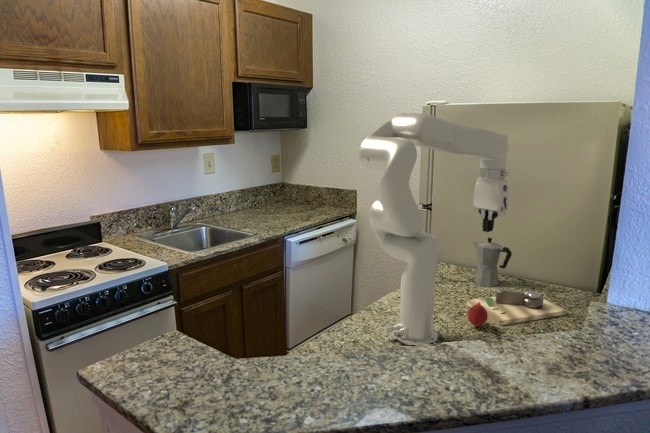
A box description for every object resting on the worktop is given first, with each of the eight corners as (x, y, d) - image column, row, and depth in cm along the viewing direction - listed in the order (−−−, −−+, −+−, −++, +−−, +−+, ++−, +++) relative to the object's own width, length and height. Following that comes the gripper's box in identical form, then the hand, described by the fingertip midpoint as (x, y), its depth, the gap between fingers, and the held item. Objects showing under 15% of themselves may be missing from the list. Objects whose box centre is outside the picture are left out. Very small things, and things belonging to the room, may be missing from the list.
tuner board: (499, 325, 143) (499, 320, 143) (466, 304, 159) (466, 299, 158) (566, 314, 151) (566, 309, 150) (528, 295, 167) (529, 290, 166)
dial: (540, 301, 156) (541, 290, 156) (544, 309, 150) (546, 297, 149) (494, 298, 160) (495, 286, 159) (496, 305, 153) (497, 293, 153)
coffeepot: (464, 281, 181) (467, 236, 177) (477, 275, 187) (480, 232, 183) (502, 292, 170) (506, 244, 166) (514, 285, 176) (518, 240, 172)
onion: (487, 331, 139) (489, 306, 137) (467, 330, 140) (469, 305, 138) (485, 323, 145) (487, 299, 143) (466, 321, 146) (467, 297, 144)
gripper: (521, 175, 141) (515, 233, 145) (478, 170, 152) (474, 225, 156) (507, 177, 136) (502, 237, 140) (464, 172, 148) (460, 228, 152)
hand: (487, 230), depth 148 cm, fingers closed
